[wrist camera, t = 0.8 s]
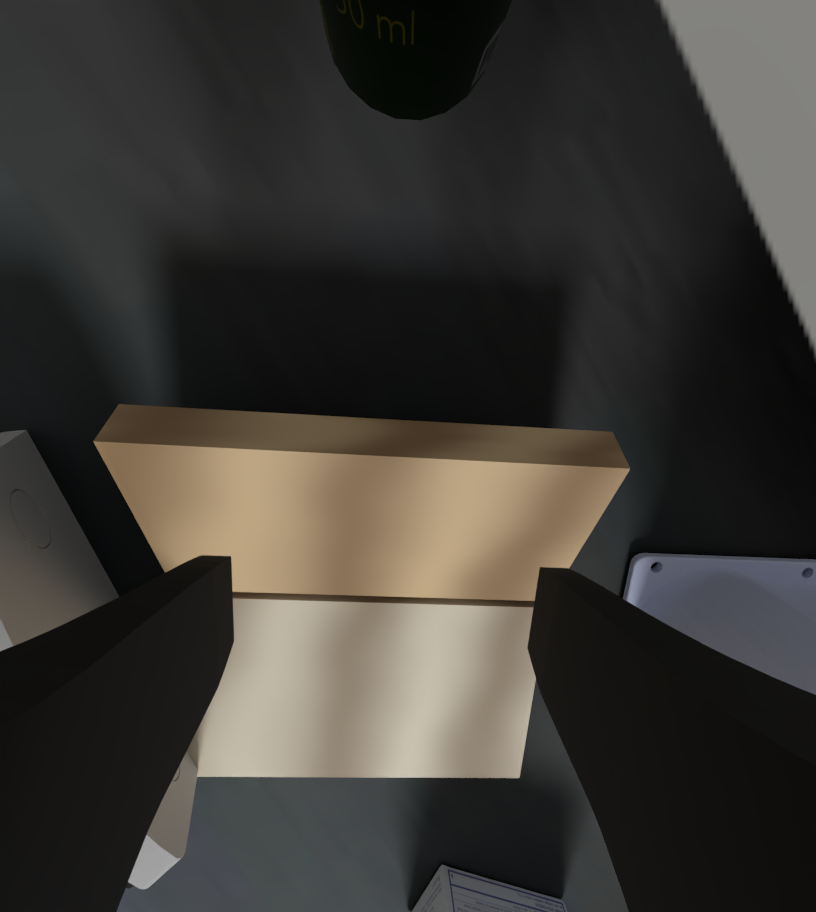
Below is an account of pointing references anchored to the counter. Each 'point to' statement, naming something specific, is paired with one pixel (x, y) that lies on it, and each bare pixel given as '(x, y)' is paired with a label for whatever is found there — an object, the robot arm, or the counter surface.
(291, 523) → the plank
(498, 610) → the floor board
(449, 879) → the grey wood grain block
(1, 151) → the counter surface
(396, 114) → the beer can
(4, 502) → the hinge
